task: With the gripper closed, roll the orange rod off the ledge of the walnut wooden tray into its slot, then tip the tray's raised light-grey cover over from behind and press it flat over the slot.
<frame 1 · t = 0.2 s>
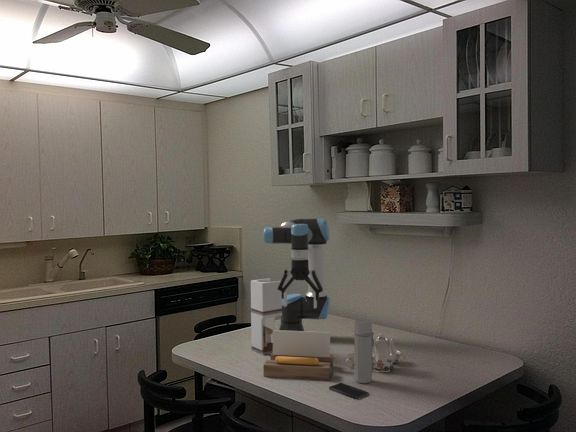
hand: (300, 307, 227), 28 cm above the table, tool pointing down, fingers open, 13 cm apart
wooden tray: (299, 369, 227), on the table
phone: (348, 393, 202), on the table
orange rod: (296, 364, 220), point 5 cm above the table, touching wooden tray
wood-lined white cubby: (266, 350, 257), on the table
chinaware: (378, 368, 230), on the table
duct cover: (301, 343, 231), point 11 cm above the table, hinge at 92.0°
water bottle: (365, 381, 213), on the table
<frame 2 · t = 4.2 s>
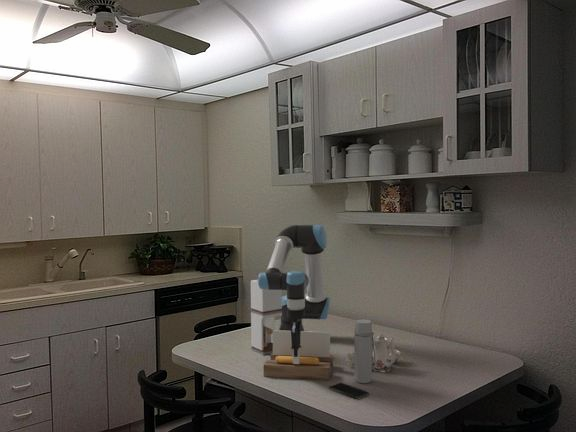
hand: (296, 363, 218), 6 cm above the table, tool pointing down, fingers closed
orange rod: (296, 363, 220), point 5 cm above the table, tilted 20°, touching wooden tray, gripper
everything else where it was.
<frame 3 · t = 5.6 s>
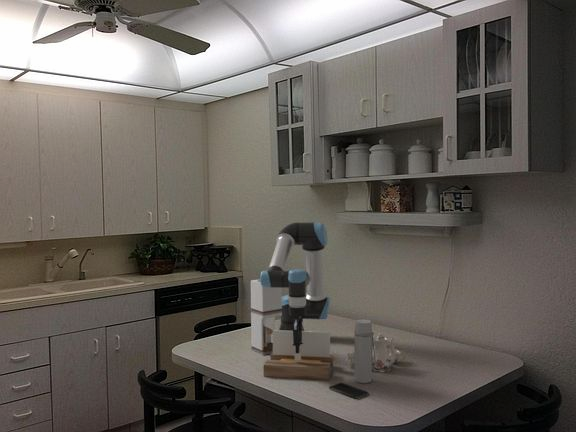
hand: (297, 359, 222), 6 cm above the table, tool pointing down, fingers closed
orange rod: (300, 366, 229), point 1 cm above the table, tilted 18°, touching wooden tray
everything else where it was.
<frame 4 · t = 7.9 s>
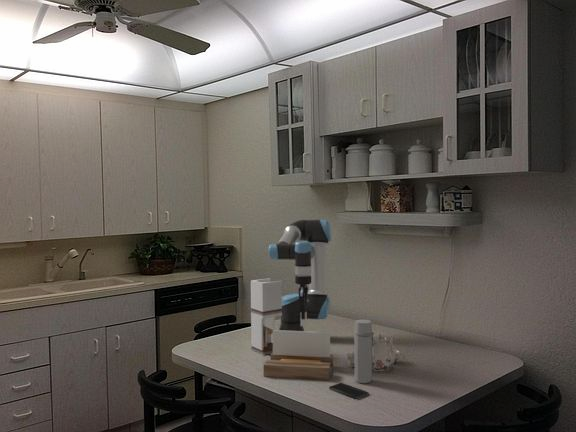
hand: (303, 325, 238), 17 cm above the table, tool pointing down, fingers closed
orange rod: (300, 366, 229), point 1 cm above the table, tilted 10°, touching wooden tray
everything else where it was.
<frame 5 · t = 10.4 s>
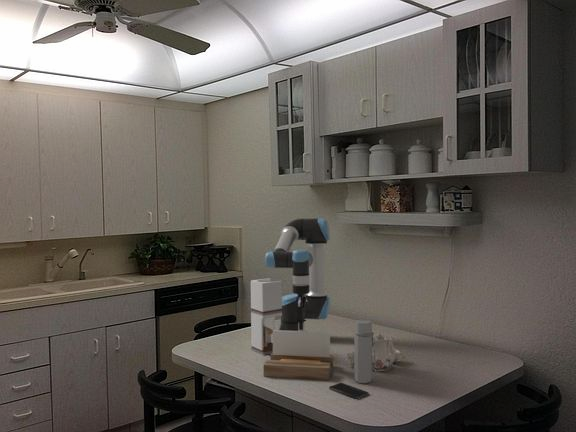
hand: (301, 336, 232), 14 cm above the table, tool pointing down, fingers closed
orange rod: (300, 366, 229), point 1 cm above the table, touching wooden tray
duct cover: (301, 343, 231), point 11 cm above the table, hinge at 91.2°, touching gripper
everything else where it was.
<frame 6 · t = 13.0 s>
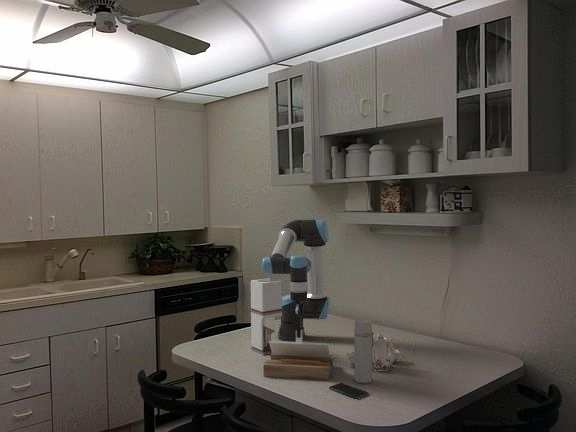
hand: (299, 344, 226), 12 cm above the table, tool pointing down, fingers closed
duct cover: (299, 349, 227), point 9 cm above the table, hinge at 44.8°, touching gripper
everything else where it was.
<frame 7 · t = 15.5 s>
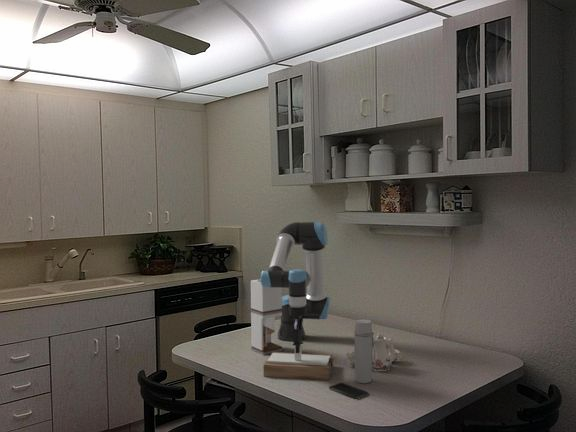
hand: (298, 359, 223), 6 cm above the table, tool pointing down, fingers closed
orange rod: (300, 366, 229), point 1 cm above the table, tilted 13°, touching wooden tray
duct cover: (299, 359, 225), point 5 cm above the table, hinge at -0.4°, touching gripper
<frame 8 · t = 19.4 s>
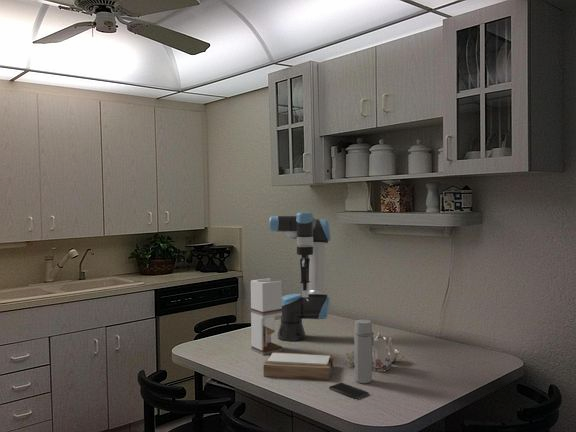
hand: (305, 296, 237), 30 cm above the table, tool pointing down, fingers closed
orange rod: (300, 366, 229), point 1 cm above the table, tilted 26°, touching wooden tray
duct cover: (299, 359, 225), point 5 cm above the table, hinge at -0.4°
at the end: orange rod inside the target area on the wooden tray (1.5 cm from its centre), point 1.2 cm above the wooden tray's base; duct cover at +0° (first picture: +92°) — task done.
